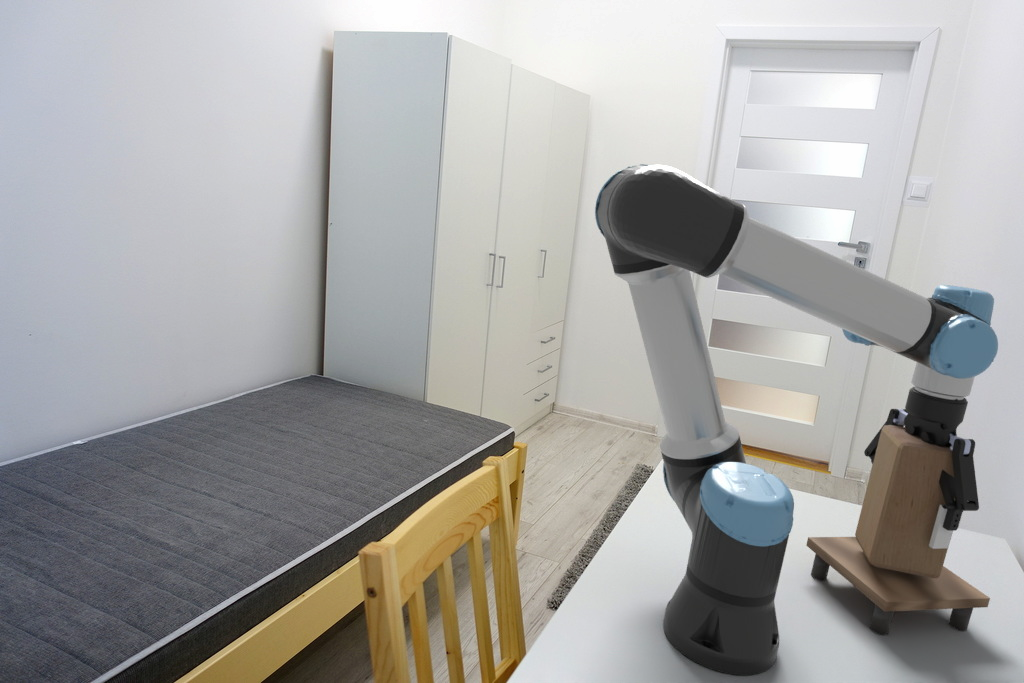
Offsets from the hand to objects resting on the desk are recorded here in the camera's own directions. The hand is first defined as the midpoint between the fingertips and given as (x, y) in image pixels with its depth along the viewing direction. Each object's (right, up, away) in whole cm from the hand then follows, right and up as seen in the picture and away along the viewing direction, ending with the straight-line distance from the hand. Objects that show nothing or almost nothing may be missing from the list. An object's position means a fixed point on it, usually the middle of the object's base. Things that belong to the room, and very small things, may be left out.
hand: (904, 524), depth 109 cm
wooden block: (-1, -6, +1) cm, 6 cm away
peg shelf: (-1, -13, +3) cm, 13 cm away
